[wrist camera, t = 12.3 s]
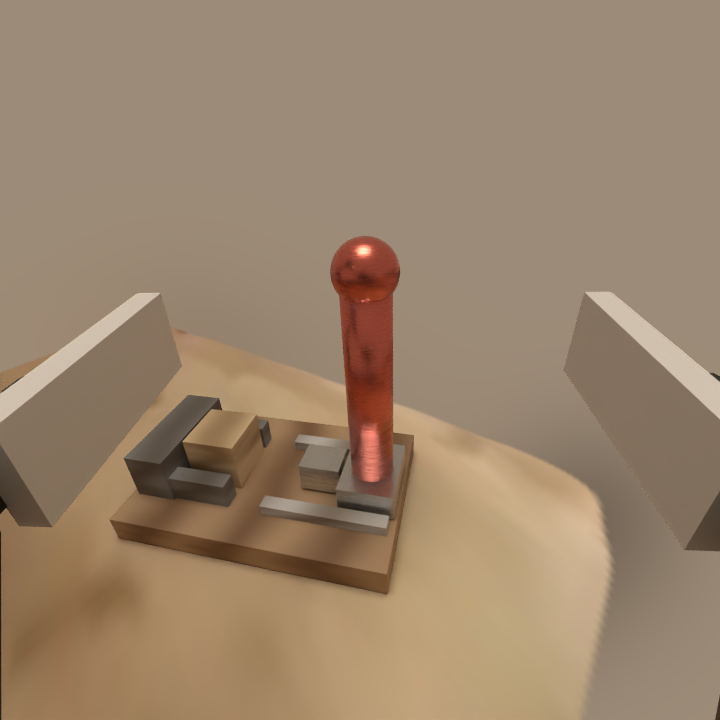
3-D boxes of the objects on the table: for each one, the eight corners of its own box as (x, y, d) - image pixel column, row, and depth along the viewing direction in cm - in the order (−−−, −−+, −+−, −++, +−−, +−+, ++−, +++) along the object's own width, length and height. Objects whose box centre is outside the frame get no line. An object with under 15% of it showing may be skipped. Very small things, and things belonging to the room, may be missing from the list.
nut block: (195, 480, 32) (182, 441, 30) (221, 446, 36) (211, 409, 34) (242, 488, 32) (231, 448, 30) (264, 452, 35) (256, 414, 33)
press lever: (294, 502, 30) (250, 248, 21) (317, 453, 34) (289, 224, 25) (393, 519, 28) (393, 251, 19) (404, 465, 33) (408, 226, 24)
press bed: (118, 537, 31) (90, 483, 28) (212, 426, 41) (199, 379, 39) (387, 593, 26) (386, 535, 23) (413, 452, 37) (414, 401, 34)
